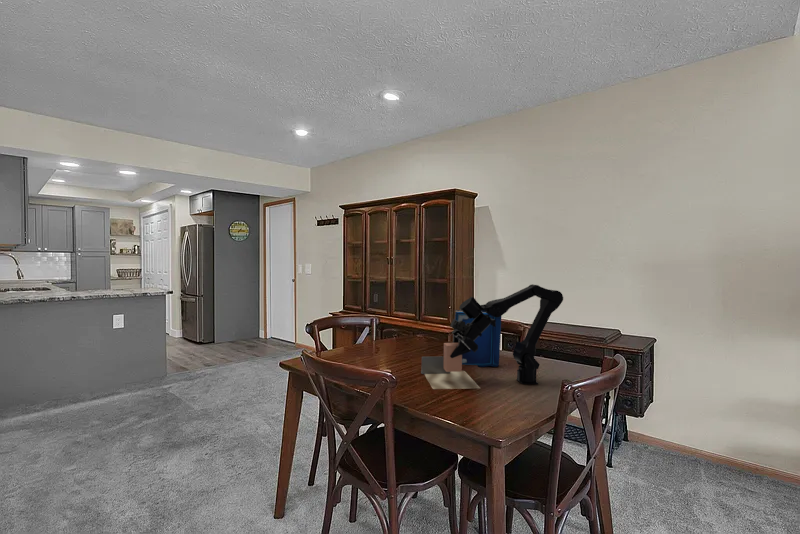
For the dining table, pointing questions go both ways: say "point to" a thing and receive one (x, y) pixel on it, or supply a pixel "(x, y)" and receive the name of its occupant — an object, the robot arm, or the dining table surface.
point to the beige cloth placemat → (451, 381)
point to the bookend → (433, 365)
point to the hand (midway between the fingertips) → (449, 355)
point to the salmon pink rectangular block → (449, 362)
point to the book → (483, 343)
